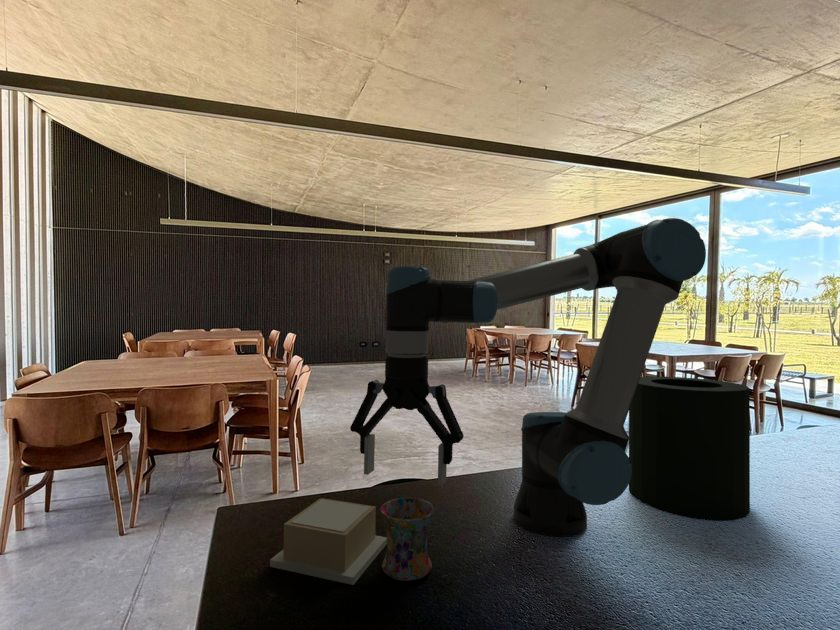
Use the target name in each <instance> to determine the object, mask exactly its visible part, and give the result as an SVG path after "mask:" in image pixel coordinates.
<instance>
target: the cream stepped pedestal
mask: <svg viewBox="0 0 840 630" xmlns="http://www.w3.org/2000/svg"><path fill="white" fill-rule="evenodd" d="M376 507H377V506H373V505H366V504H362V503H361V504H360V503H355V502H348V501H342V500H335V499H330V498H329V499H328V498H322V497H320V498H319V499H317V500H316V501H315V502H313V503H311V504H310V505H309V506H307V507H306V508H304V509H303V510H302V511H300V512H299V513H298V514H296V515H295V516H292V518H290V519H289V520H288V521H286V522H284V523H283V549H281V551H279V552H278V553H277V554H275V555H274V556H273V557H272V558H270V559H269V567H270V568H274V569H279V570H284V571H288V572H291V573H292V572H293V573H298V574H301V575H306V576H310V577H316V578H320V579H323V580H329V581H332V582H337V583H342V584H347V585H352V586H354V585H355V583H357V582H358V580H359V578H361V576H362V575H363V574H364V573H365V571H366V570H367V568H369V567H370V565H371V564H372V563H373V561H375V559H376V558H377V557H378V555H379V554H380V553H381V552H382V551H383V549H384V548H385V547H386V546H387V542H388V541H387V536H381V535H376V518H377V517H376V515H377V514H376V511H377V509H376Z"/></svg>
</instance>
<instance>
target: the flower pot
mask: <svg viewBox="0 0 840 630" xmlns="http://www.w3.org/2000/svg"><path fill="white" fill-rule="evenodd" d="M750 389H751V388H750V387H749V386H748V385H745V384H740V383H737V382H731V381H724V380H717V379H716V380H715V379H709V378H707V379H706V378H696V377H684V376H683V377H681V376H678V377H677V376H641V377H640V380H639V382H638V385H637V388H636V391H635V394H634V397H633V400H632V403H631V406H630V409H629V411H628V437H629V440H628V457H629V462H630V464H631V467H632V474H631V479H630V482H629V485H628V491H629V493H630V494H631V496H632V497H633V498H635V499H636V500H638V501H639V502H640V503H642V504H644V505H647V506H649V507H650V508H654V509H655V510H657V511H658V510H659V511H662V512H665V513H668V514H670V515H671V514H672V515H674V516H678V517H683V518H687V519H693V520H702V521H713V522H728V521H729V522H730V521H737V520H740V519H745V518H747V516H748V515H749V514H750V511H751V504H750V503H751V491H750V490H751V483H750V482H751V481H750V480H751V479H750V477H751V475H750V474H751V473H750V471H751V470H750V469H751V467H750V466H751V461H750V460H751V458H750V457H751V455H750V454H751V453H750V452H751V450H750V449H751V447H750V446H751V445H750V444H751V443H750V441H751V437H750V436H751V435H750V431H751V429H750V428H751V427H750V424H751V423H750V418H751V417H750V416H751V413H750V408H751V406H750V402H751V401H750V400H751V398H750V397H751V396H750V394H751V393H750Z"/></svg>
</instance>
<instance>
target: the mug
mask: <svg viewBox="0 0 840 630" xmlns="http://www.w3.org/2000/svg"><path fill="white" fill-rule="evenodd" d="M379 512H380V515H381V518H382V519H383V523H384V527H385V530H386V537H387V544H386V546H387V547H386V553H385V556H384V559H383V561H382V563H381V569H382V571H383V572H384V573H385V575H387V577H389V578H391V579H394V580H396V581H403V582H410V581H416V580H419V579H421V578H424V577H425V576H427V575H428V574H429V573H430V572H431V569H432V565H433V564H432V561H431V559H430V557H429V553H428V548H427V547H428V546H427V544H428V542H427V540H428V539H427V538H428V531H429V527H430V524H431V520H432V519H433V516H434V514H435V507H434V505H433V504H432V503H431V502H429V501H427V500H424V499H422V498H418V497H417V498H416V497H400V498H398V497H397V498H393V499H390V500H388V501H386V502H384V503H383V504H382V505H381V506H380V508H379Z"/></svg>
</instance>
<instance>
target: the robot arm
mask: <svg viewBox="0 0 840 630" xmlns="http://www.w3.org/2000/svg"><path fill="white" fill-rule="evenodd" d="M706 250H707V249H706V245H705V241H704V239H702V238H701V233H700V232H699V231H698V229H697V228H696V227H695V226H694V225H692V224H691V223H689V222H688V221H687V220H684V219H681V218H677V217H668V218H666V217H665V218H663V219H654V220H652V221H649V222H648V223H647V224H644V225H640V226H637V227H633V228H631V229H628V230H623V231H621V232H618V233H616V234H614V235H612V236H610V237H607V238H604V239H602V240H600V241H597V242H595V243H592V244H589V245H586V246H582V247H578V248H576V249H575V250H574V252H573V254H569V255H566V256H561V257H557V258H553V259H549V260H546V261H541V262H537V263H534V264H529V265H525V266H521V267H517V268H513V269H509V270H505V271H501V272H497V273H493V274H489V275H484V276H482V277H477V278H474V279H469V280H449V279H448V280H446V279H445V280H443V279H441V280H440V279H434V278H431V274H430V273H431V272H430V270H429V268H426V267H424V266H415V265H413V266H411V265H406V266H405V265H403V266H395V267H392V268H391V269H390V270H389V271H388V273H387V280H386V281H387V282H386V293H385V295H386V298H385V299H386V301H385V302H386V305H385V306H386V307H385V309H386V311H385V312H386V314H385V315H386V316H385V317H386V318H385V321H386V322H385V326H386V327H385V348H384V349H385V353H386V354H388V356H386V357H385V359H384V361H385V363H384V366H385V367H384V376H385V379H384V382H380V381H379V380H378V379H375V380H374V379H373V380H372V381H369V382H368V383H367V388H366V389H367V390H366V393H365V396H364V398H363V400H362V403H361V405H360V407H359V408H358V411H357V413H356V415H355V417H354V419H353V421H352V423H351V425H350V427H349V428H350V429H349V430H350V431H351V432H352V433H354V432H355V433H357V434H358V435H359V437H360V438H359V439H360V440H359V452H360V454H363V458H364V459H363V475H366V476H369V474H371V473H373V472H374V471H375V450H376V449H375V447H376V445H375V441H376V434H375V433H372V432H373V430H374V429H375V428H376V426H377V425H378V424H379V423H380V422H381V421H382V420H383V418H384V417H385V416H386V414H388V412H390V411H391V409H392V408H395V409H396V410H403V409H405V410H408V411H414V410H417V412H418V413H419V414H420V415H421V416H422V417H423V418H424V419H425V421H426V422H427V424H428V425H429V427H430V428H431V429H432V431H433V432H434V434H436V436H437V437H438V438H439V441H441V442H440V444H438V446H437V448H438V451H437V453H438V454H437V485H438V486H443V485H444V484H445V483H446V481H447V469H448V468H447V465H450V464H451V463H452V461H453V446H454V444H458V443H460V442H461V441H462V440H463V439H464V437H465V436H464V433H463V430H462V429H461V426H460V424H459V422H458V420H457V417H456V414H455V413H454V411H453V408H452V406H451V404H450V402H449V399H448V398H447V397H448V396H447V387H446V385H445V384H443V383H440V384H439V385H431V386H430V384H429V380H428V379H429V358H428V357H427V356H426V355H427V354H428V353H429V337H430V334H429V333H430V331H429V329H430V327H429V325H430V322H434V323H439V322H440V323H443V324H448V323H460V324H461V323H464V324H465V323H466V324H467V323H469V324H480V323H483V324H484V323H485V324H486V323H490V322H492V321H493V320H494V319H495V318H496V315H497V311H499V310H502V309H507V308H510V307H513V306H516V305H522V304H525V303H528V302H533V301H537V300H541V299H544V298H545V299H546V298H549V297H552V296H556V295H560V294H564V293H567V292H572V291H576V290H580V289H583V290H584V291H586V292H590V291H595V290H598V289H604V288H605V289H606V288H615V290H616V295H615V298H614V300H613V304H612V307H611V309H610V312H609V314H608V317H607V320H606V323H605V326H604V329H603V331H602V334H601V338H600V340H599V343H598V345H597V348H596V351H595V354H594V357H593V360H592V362H591V366H590V369H589V371H588V374H587V377H586V380H585V383H584V385H583V388H582V391H581V393H580V396H579V400H578V402H577V404H576V407H575V408H574V409H571V410H569V411H567V412H562V411H561V412H560V411H559V412H558V411H539V412H538V411H537V412H529V413H526V414H524V415H523V417H522V425H521V429H520V431H521V467H522V468H521V483H520V487H519V489H518V491H517V495H516V497H515V501H514V504H513V519H514V520H515V522H516V523H517V524H518V525H519V526H521V527H522V528H524V529H525V530H528V531H530V532H533V533H536V534H540V535H544V536H549V537H550V536H551V537H571V536H576V535H579V534H581V533H583V532H584V531H585V530H586V529H587V527H588V516H587V515H588V514H587V511H586V507H585V505H584V504H586V505H590V506H601V505H606V504H608V503H609V502H611V501H615V500H617V499H618V498H619V497H621V496H622V494H624V493H625V491H626V490H627V488H628V487H629V482H630V479H631V474H632V467H631V464H630V462H629V455H628V454H627V452H625V451H626V449H627V445H628V444H629V434H628V433H627V431H626V428H625V422H626V419H627V417H628V415H629V409H630V406H631V403H632V400H633V397H634V394H635V391H636V388H637V385H638V382H639V380H640V377H642V373H643V370H644V367H645V364H646V362H647V359H648V357H649V353H650V350H651V347H652V344H653V341H654V338H655V336H656V332H657V331H658V330H657V329H658V327H659V325H660V321H661V318H662V316H663V314H664V309H665V307H666V306H667V304H669V303H671V302H674V301H676V300H677V299H678V297H679V294H680V292H681V288H682V286H683V283H684V282H686V281H687V280H688V281H689V280H691V279H693V277H695V276H697V275H698V274H699V273H700V272H701V270H702V269H703V268H704V266H705V264H706V258H707V251H706ZM382 391H383V392H384V395H385V396H386V398H385V400H384V401H383V402H382V403H381V405H380V406H379V407H378V409H377V410H376V411H375V412H374V414H373V415H371V417H370V418H369V419H368V420H367V418H368V416H369V414H370V412H371V410H372V408H373V406H374V404H375V402H376V400H377V398H378V395H379V394H380V393H381V392H382ZM429 394H431V396H432V398H433V399H435V400H436V404H437V406H438V408H439V411H440V413H441V416H442V418H443V420H444V423H445V424H446V426H445V424H444V423H443V421H442V420H441V419H440V418H439V416H438V414H436V412H435V411H434V409H433V408H432V406H431V404H430V403H429V401H428V400H427V397H428V396H429ZM366 420H367V422H366ZM365 422H366V423H365Z"/></svg>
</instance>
